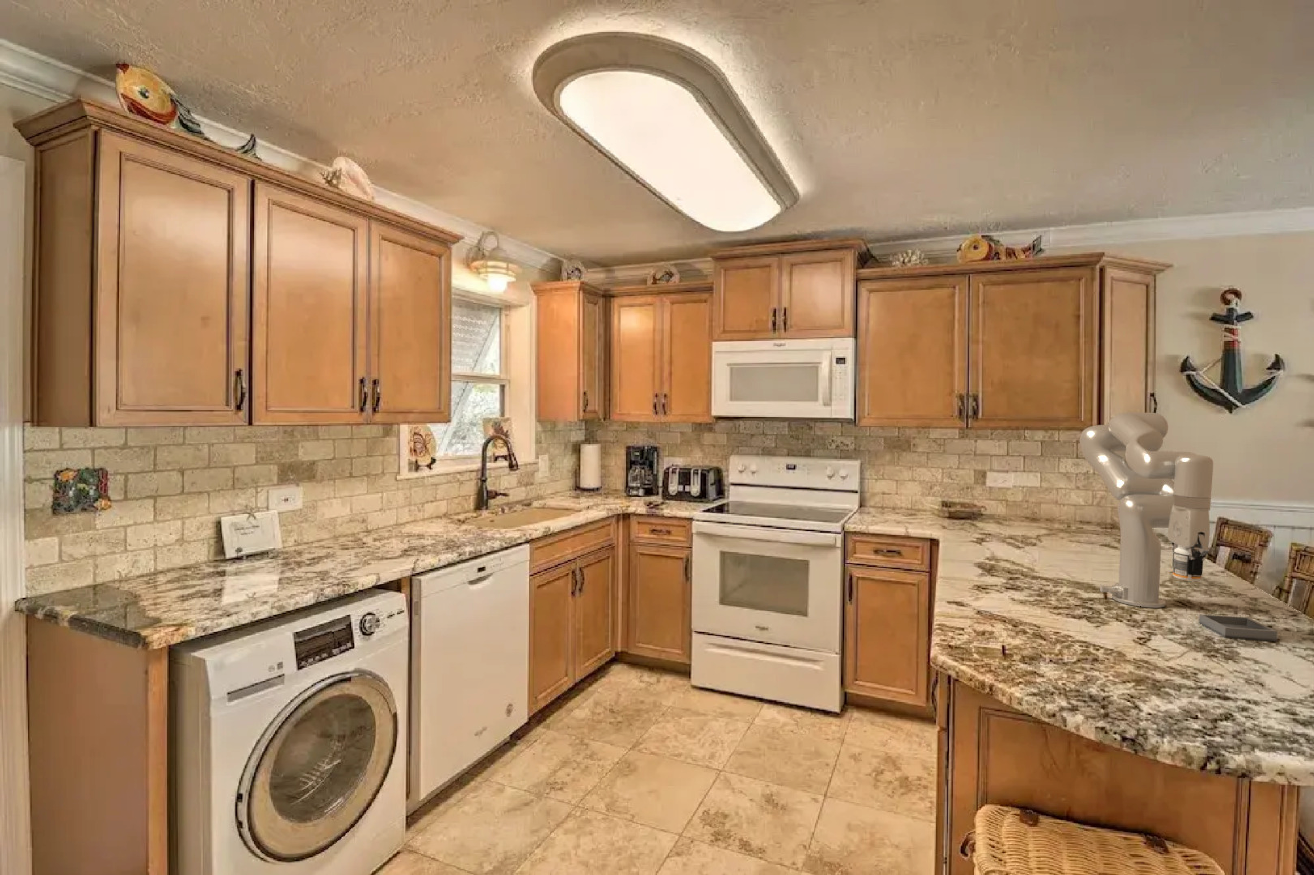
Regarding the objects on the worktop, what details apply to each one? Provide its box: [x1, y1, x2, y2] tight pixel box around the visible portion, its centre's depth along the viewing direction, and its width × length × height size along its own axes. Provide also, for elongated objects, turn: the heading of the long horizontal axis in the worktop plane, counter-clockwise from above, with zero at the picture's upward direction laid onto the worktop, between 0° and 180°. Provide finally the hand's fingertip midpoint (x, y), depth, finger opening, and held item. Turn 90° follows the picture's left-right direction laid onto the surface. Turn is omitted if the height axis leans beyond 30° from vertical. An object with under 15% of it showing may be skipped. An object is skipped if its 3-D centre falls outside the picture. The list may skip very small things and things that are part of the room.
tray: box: [1198, 613, 1278, 642], centre depth 163 cm, size 11×11×2 cm
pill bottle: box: [1172, 545, 1202, 582], centre depth 167 cm, size 6×6×10 cm
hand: (1186, 570), depth 167 cm, fingers closed on pill bottle, 5 cm apart
